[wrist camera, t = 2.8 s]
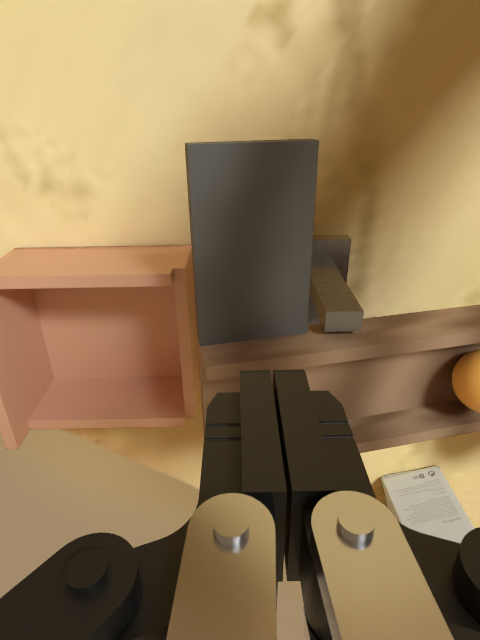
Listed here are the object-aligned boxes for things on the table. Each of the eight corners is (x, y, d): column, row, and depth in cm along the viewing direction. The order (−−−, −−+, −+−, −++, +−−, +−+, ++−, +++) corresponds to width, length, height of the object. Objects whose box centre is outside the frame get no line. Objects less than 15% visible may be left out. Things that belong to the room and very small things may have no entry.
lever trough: (556, 130, 23) (613, 134, 21) (479, 397, 31) (513, 424, 28) (184, 142, 19) (193, 149, 17) (204, 442, 27) (212, 480, 25)
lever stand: (347, 235, 32) (395, 291, 22) (332, 382, 38) (365, 474, 28) (279, 237, 32) (298, 293, 22) (275, 383, 38) (289, 476, 28)
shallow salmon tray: (15, 248, 32) (-48, 290, 25) (191, 244, 32) (179, 286, 25) (49, 382, 37) (6, 448, 30) (200, 379, 37) (192, 445, 30)
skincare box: (379, 475, 43) (444, 642, 30) (441, 462, 42) (536, 627, 29) (389, 529, 46) (451, 701, 33) (446, 518, 46) (533, 689, 33)
